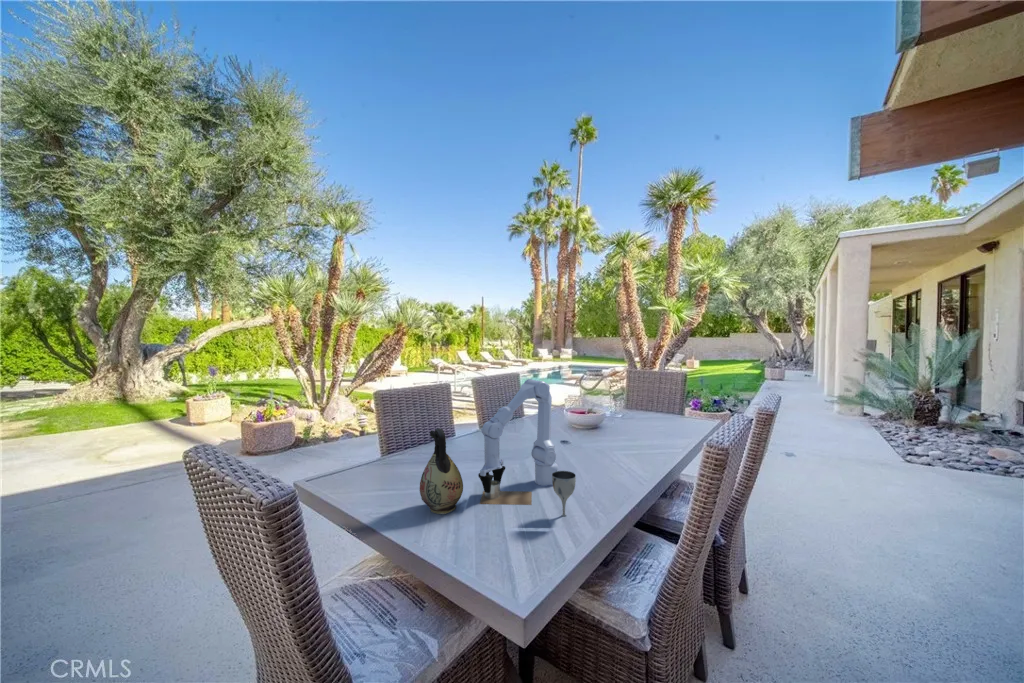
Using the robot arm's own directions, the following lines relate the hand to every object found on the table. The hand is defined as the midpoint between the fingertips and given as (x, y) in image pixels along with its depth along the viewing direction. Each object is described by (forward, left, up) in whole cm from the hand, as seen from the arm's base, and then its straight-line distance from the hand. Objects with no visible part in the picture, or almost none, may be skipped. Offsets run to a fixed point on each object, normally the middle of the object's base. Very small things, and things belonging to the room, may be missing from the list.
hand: (492, 488), depth 153 cm
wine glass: (-26, +16, -4) cm, 31 cm away
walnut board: (-6, +2, -4) cm, 7 cm away
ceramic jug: (+17, +10, -4) cm, 20 cm away
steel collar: (0, 0, -3) cm, 3 cm away
